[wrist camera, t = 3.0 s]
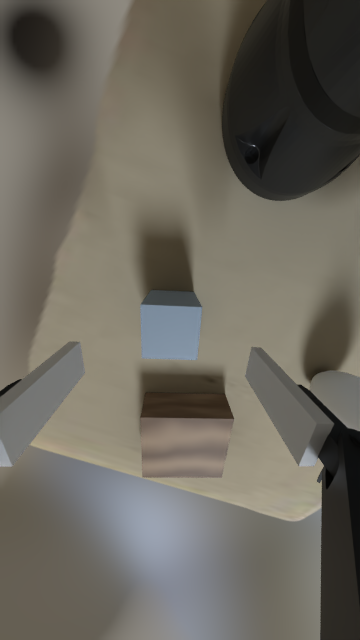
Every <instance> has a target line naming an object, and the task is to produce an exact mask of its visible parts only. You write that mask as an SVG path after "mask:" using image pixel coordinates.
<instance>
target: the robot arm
mask: <svg viewBox="0 0 360 640" xmlns="http://www.w3.org/2000/svg"><path fill="white" fill-rule="evenodd" d="M222 130H223V140H224V146H225V150H226V154H227V157H228V160H229V162H230V165H231V167H232V169H233V171H234V173H235V174H236V176H237V177H238V179H239V180H240V181H241V182H242V183H243V185H244V186H245V187H247V188H248V189H249V190H250V191H251V192H253V193H255V194H256V195H258V196H260V197H263V198H266V199H269V200H276V201H285V200H292V199H296V198H299V197H302V196H304V195H306V194H308V193H311V192H313V191H315V190H317V189H319V188H321V187H323V186H324V185H326V184H328V183H329V182H331V181H332V180H334V179H335V178H336V177H338V176H339V175H340V174H341V173H342V172H344V171H345V170H346V169H347V168H348V167H349V166H350V165H351V164H352V163H353V162H354V161H355V160H356V159H357V158H358V156H359V155H360V0H267V1H266V3H265V4H264V6H263V7H262V8H261V10H260V11H259V12H258V14H257V16H256V17H255V19H254V20H253V22H252V24H251V26H250V27H249V29H248V31H247V33H246V35H245V37H244V39H243V42H242V44H241V46H240V49H239V51H238V54H237V57H236V59H235V62H234V66H233V69H232V72H231V75H230V79H229V82H228V85H227V89H226V93H225V99H224V105H223V115H222ZM84 373H85V370H84V363H83V357H82V351H81V345H80V342H68V343H67V344H66V345H65V346H63V347H62V348H61V349H60V350H58V351H57V352H56V353H55V354H53V355H52V356H51V357H50V358H49V359H47V360H46V361H45V362H44V363H42V364H41V365H40V366H39V367H37V368H36V369H35V370H34V371H32V372H31V373H30V374H29V375H27V376H26V377H25V378H24V379H20V380H17V381H15V382H14V383H12V384H10V385H8V386H6V387H5V388H4V389H3V390H1V391H0V466H13V465H14V464H15V462H16V461H17V459H18V458H19V457H20V456H21V455H22V453H23V452H24V450H25V449H26V448H27V447H28V446H29V444H30V443H31V442H32V440H33V439H34V438H35V437H36V435H37V434H38V433H39V431H40V430H41V429H42V428H43V426H44V425H45V424H46V422H47V421H48V420H49V418H50V417H51V416H52V415H53V413H54V412H55V411H56V409H57V408H58V407H59V406H60V404H61V403H62V402H63V400H64V399H65V398H66V397H67V395H68V394H69V393H70V391H71V390H72V389H73V388H74V386H75V385H76V384H77V382H78V381H79V380H80V379H81V377H82V376H83V375H84ZM245 377H246V379H247V380H248V382H249V384H250V385H251V387H252V389H253V390H254V392H255V394H256V395H257V397H258V399H259V400H260V402H261V404H262V405H263V407H264V409H265V410H266V412H267V414H268V416H269V417H270V419H271V421H272V422H273V424H274V426H275V427H276V429H277V431H278V432H279V434H280V436H281V437H282V439H283V441H284V442H285V444H286V446H287V447H288V449H289V451H290V452H291V454H292V456H293V457H294V459H295V461H296V462H297V464H298V466H314V465H315V463H316V461H317V459H318V458H319V459H320V460H321V462H322V463H323V464H324V467H323V469H322V471H321V473H320V475H319V477H318V479H317V482H319V483H320V482H321V480H322V528H321V633H320V640H360V431H357V430H355V429H351V428H347V427H346V426H345V425H344V424H343V423H342V422H341V421H340V420H339V419H338V418H337V417H336V416H335V415H334V414H333V413H332V412H331V411H330V410H329V409H328V408H327V407H326V406H325V405H323V403H322V402H321V401H320V400H319V399H317V397H316V396H315V395H314V394H313V393H312V392H311V391H310V390H308V389H306V388H305V387H303V386H302V385H297V384H296V383H295V382H294V381H293V380H292V379H291V378H290V377H289V376H288V375H287V374H286V373H285V372H284V371H283V370H282V369H281V368H280V367H279V366H278V365H277V364H276V363H275V362H274V361H273V360H272V358H271V357H270V356H269V355H268V354H267V353H266V352H265V351H264V350H263V349H262V348H257V347H251V352H250V357H249V361H248V366H247V371H246V375H245Z"/></svg>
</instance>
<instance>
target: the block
mask: <svg viewBox="0 0 360 640" xmlns="http://www.w3.org/2000/svg"><path fill="white" fill-rule="evenodd" d="M201 315H202V306H201V304H200V302H199V300H198V298H197V297H196V295H195V293H194V292H186V291H164V290H151V291H150V292H149V294H148V295H147V296H146V298H145V299H144V301H143V302H142V303H141V341H142V358H149V359H182V360H197V355H198V345H199V335H200V325H201Z"/></svg>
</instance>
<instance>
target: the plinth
mask: <svg viewBox="0 0 360 640" xmlns="http://www.w3.org/2000/svg"><path fill="white" fill-rule="evenodd" d="M233 422H234V417H233V415H232V412H231V409H230V406H229V404H228V401H227V398H226V395H225V394H187V393H146V395H145V399H144V404H143V409H142V413H141V445H142V474H143V477H222V474H223V469H224V464H225V460H226V455H227V450H228V445H229V441H230V436H231V431H232V427H233Z"/></svg>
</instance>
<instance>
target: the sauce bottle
mask: <svg viewBox="0 0 360 640" xmlns="http://www.w3.org/2000/svg"><path fill="white" fill-rule="evenodd" d="M310 391H311V392H312V393H313V394H314V395H315V396H316V397H317V399H319V400H320V401H321V402H322V403H323V405H325V406H326V407H327V408H328V409H329V410H330V411H331V412H332V413H333V414H334V415H335V416H336V417H337V418H338V419H339V420H340V421H341V422H342V423H343V424H344V425H345V426H346V427H347V428H351V429H355V430H357V431H360V377H357V376H355V375H352V374H349V373H345V372H340V371H333V370H331V371H325V372H320V373H318V374H316V375H315V376H314V377H313V378H312V381H311V384H310Z"/></svg>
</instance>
